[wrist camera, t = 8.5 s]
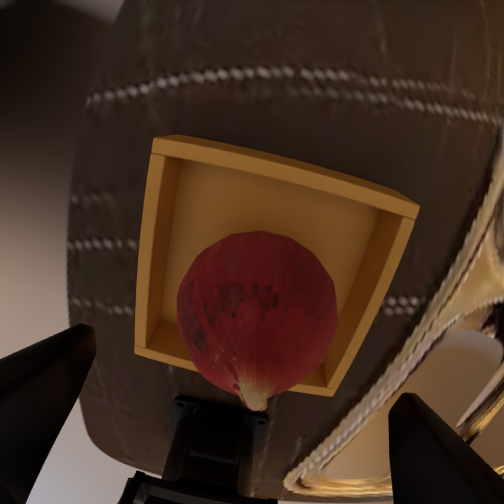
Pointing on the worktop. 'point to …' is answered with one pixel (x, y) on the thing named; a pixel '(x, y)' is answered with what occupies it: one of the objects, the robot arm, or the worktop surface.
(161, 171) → the amber tray
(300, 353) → the onion
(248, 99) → the worktop surface
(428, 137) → the worktop surface
